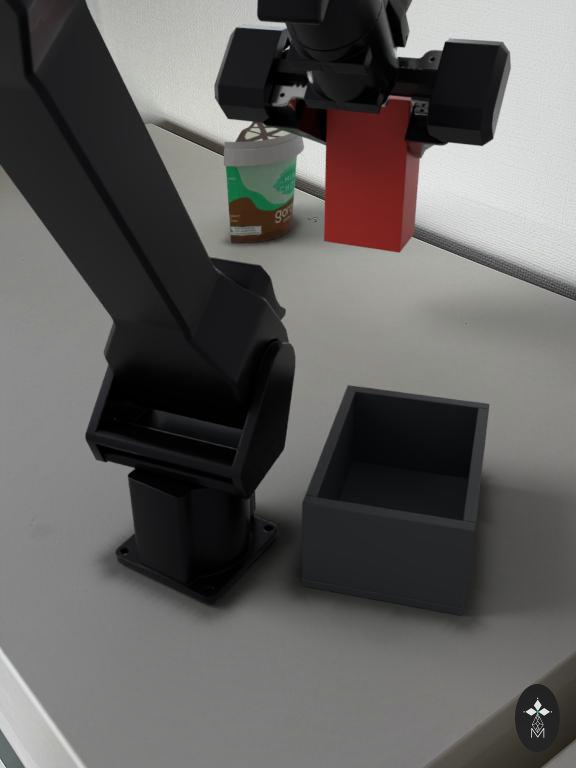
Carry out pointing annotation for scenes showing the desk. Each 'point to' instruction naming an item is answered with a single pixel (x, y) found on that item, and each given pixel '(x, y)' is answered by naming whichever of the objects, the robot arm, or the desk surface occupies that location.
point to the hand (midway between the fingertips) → (379, 147)
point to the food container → (261, 182)
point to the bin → (396, 499)
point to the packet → (370, 178)
